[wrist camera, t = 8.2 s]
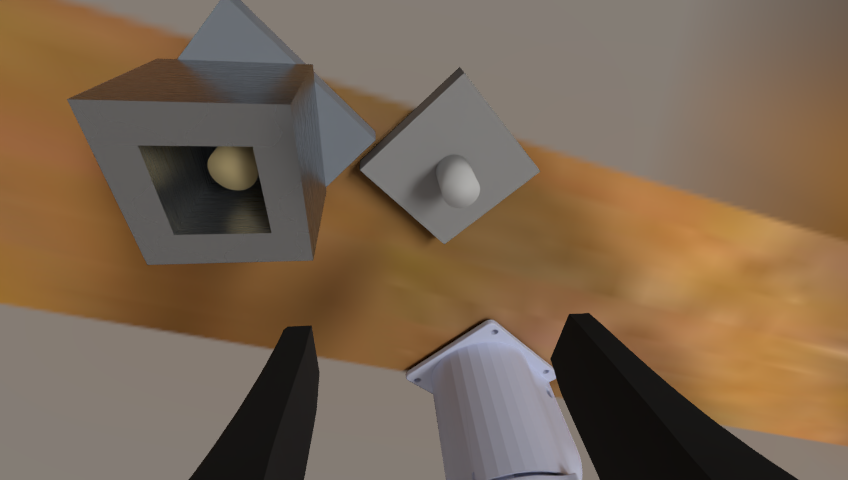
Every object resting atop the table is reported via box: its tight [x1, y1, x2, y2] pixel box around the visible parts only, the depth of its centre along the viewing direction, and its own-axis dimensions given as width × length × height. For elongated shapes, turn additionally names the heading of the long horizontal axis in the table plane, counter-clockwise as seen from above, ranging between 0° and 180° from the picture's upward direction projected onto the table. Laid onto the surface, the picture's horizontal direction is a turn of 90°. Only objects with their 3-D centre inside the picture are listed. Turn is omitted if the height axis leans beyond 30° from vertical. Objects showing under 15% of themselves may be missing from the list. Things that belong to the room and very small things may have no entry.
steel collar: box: [67, 59, 326, 265], centre depth 13 cm, size 5×5×5 cm
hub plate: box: [178, 0, 375, 190], centre depth 15 cm, size 7×7×4 cm
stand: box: [360, 67, 540, 244], centre depth 17 cm, size 6×6×3 cm
